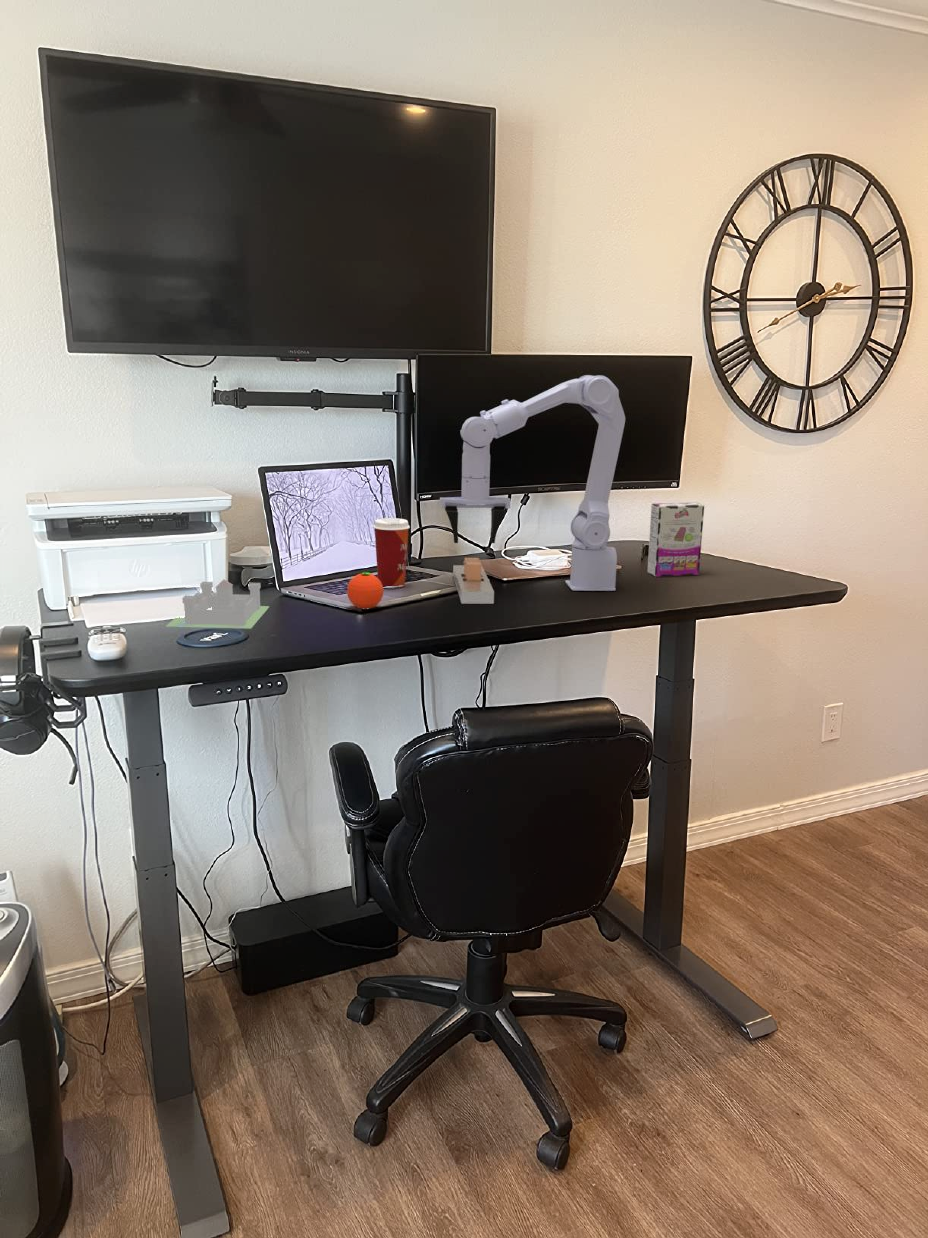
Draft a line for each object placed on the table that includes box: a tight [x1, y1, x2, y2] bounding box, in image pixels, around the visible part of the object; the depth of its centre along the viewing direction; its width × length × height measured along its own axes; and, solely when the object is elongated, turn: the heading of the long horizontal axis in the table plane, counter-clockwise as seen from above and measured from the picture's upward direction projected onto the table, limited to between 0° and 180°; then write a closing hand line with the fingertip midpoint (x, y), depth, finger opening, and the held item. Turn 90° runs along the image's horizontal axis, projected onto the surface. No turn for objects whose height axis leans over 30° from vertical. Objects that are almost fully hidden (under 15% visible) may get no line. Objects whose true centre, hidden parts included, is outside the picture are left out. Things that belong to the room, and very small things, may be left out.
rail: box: [452, 564, 495, 605], centre depth 189 cm, size 6×24×2 cm, turn 5°
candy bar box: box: [647, 502, 705, 578], centre depth 205 cm, size 11×5×16 cm, turn 104°
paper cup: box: [372, 517, 411, 586], centre depth 188 cm, size 8×8×14 cm
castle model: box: [165, 579, 270, 630], centre depth 164 cm, size 15×15×7 cm
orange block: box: [463, 557, 482, 581], centre depth 188 cm, size 3×6×6 cm, turn 5°
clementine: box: [346, 571, 384, 610], centre depth 172 cm, size 8×7×7 cm
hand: (474, 542), depth 187 cm, fingers open, 7 cm apart
